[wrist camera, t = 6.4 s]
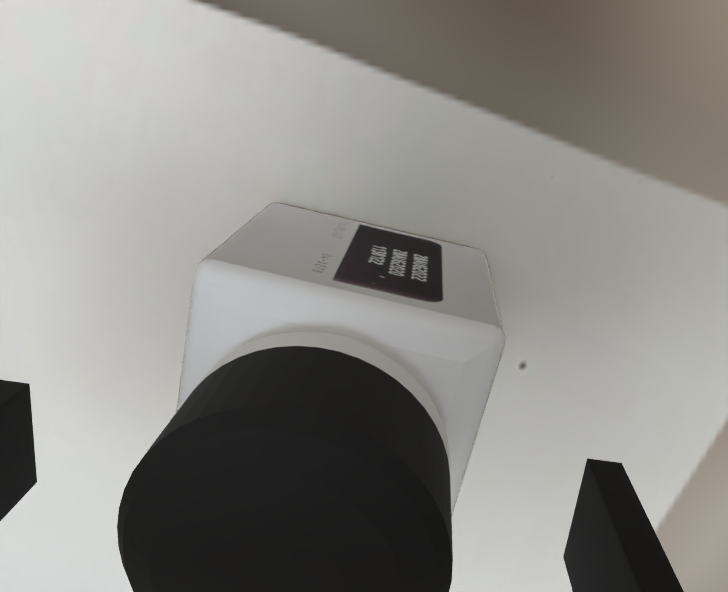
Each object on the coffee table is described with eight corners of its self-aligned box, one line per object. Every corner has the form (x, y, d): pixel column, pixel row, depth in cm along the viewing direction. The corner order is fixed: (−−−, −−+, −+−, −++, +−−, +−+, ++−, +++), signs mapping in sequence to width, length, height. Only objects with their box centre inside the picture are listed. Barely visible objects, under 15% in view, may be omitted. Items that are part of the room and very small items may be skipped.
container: (268, 197, 23) (78, 349, 11) (488, 249, 23) (544, 461, 11) (237, 392, 26) (56, 689, 14) (433, 439, 26) (428, 785, 13)
